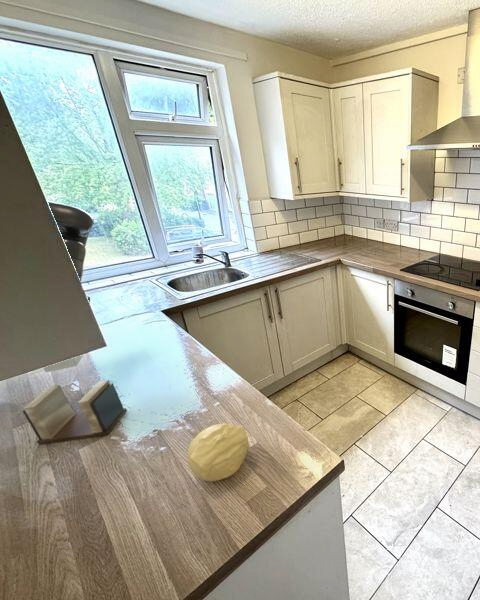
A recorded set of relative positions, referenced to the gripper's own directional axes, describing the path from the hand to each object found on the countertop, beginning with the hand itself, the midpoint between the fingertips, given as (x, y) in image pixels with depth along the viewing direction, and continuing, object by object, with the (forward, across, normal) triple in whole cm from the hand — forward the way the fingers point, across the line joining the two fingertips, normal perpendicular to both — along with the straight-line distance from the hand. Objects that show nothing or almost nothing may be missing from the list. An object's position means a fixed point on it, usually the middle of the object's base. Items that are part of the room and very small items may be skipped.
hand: (48, 334), depth 83 cm
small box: (+6, 0, +8) cm, 9 cm away
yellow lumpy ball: (+37, +44, -3) cm, 57 cm away
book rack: (+22, +5, +11) cm, 26 cm away
